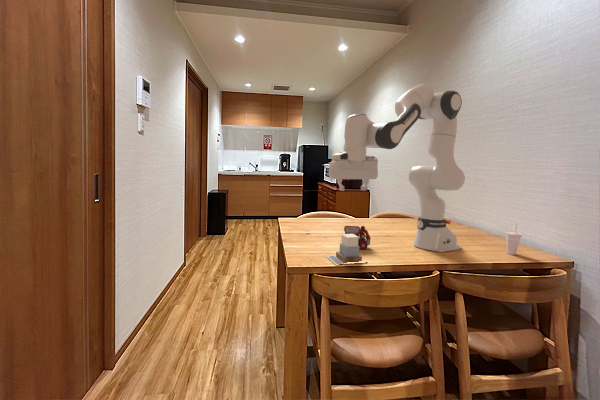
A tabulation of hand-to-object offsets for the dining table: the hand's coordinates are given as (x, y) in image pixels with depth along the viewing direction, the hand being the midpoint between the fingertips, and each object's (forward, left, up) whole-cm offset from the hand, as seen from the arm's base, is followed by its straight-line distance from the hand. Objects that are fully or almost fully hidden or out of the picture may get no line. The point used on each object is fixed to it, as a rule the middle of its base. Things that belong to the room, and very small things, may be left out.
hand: (352, 190), depth 128 cm
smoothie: (-79, +7, -29) cm, 85 cm away
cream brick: (0, 0, -23) cm, 23 cm away
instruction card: (+1, 0, -29) cm, 29 cm away
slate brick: (0, 0, -27) cm, 27 cm away
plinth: (0, 0, -29) cm, 29 cm away
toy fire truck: (-11, -15, -29) cm, 35 cm away
